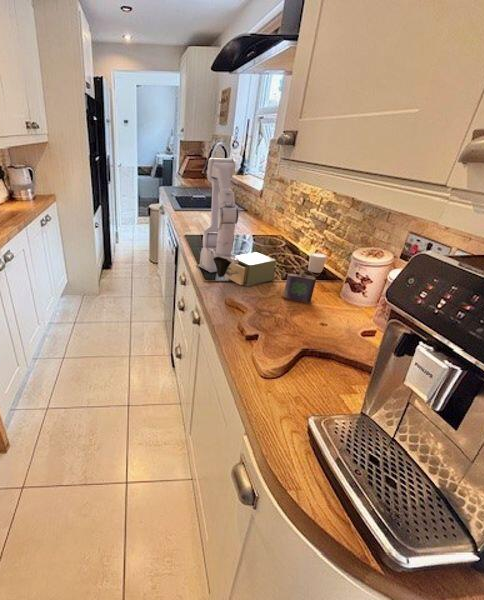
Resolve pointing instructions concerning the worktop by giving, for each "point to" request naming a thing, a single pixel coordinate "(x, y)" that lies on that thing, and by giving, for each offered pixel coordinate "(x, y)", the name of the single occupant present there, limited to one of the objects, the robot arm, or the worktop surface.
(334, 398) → the worktop surface
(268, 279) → the cabinet
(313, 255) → the shot glass
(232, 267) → the drawer
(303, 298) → the flask
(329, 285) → the worktop surface
